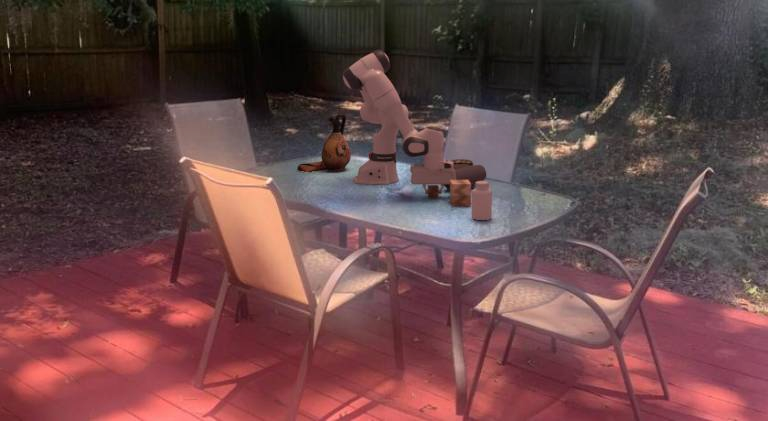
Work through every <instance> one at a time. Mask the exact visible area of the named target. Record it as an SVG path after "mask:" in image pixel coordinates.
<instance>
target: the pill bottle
mask: <svg viewBox="0 0 768 421" xmlns="http://www.w3.org/2000/svg"><path fill="white" fill-rule="evenodd" d="M489 184H490V182H488V181H487V180H483V181H477V182H476V183H475V184H474V185H475V188H474V189H472V190H471V219H472V218H473V219H472V220H474V219H476V220H475V221H477V220H487V221H490V220H491V219H492V211H493V209H492V208H493V205H492V203H493V191H492V190H491V189H490V185H489ZM489 219H490V220H489Z"/></svg>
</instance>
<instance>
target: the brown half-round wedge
mask: <svg viewBox="0 0 768 421" xmlns="http://www.w3.org/2000/svg"><path fill="white" fill-rule="evenodd" d="M449 161H451V162H453V164H454V167H453V168H454V170H455V169H459V168H463V167H467V166H472V165H474V161H473V160H471V159H464V158H459V159H457V158H456V159H451V160H449Z"/></svg>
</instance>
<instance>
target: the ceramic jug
mask: <svg viewBox="0 0 768 421" xmlns="http://www.w3.org/2000/svg"><path fill="white" fill-rule="evenodd" d="M340 118H341V122H340ZM346 122H347V117H346V115H345V114H344V113H337V114H336V115H335V117H328V118H327V119H326V122H325V123H326V125H328V126H331V127H333V129H332V131H331V133H330V134H329V136H328V137H327V139H326V141H325V142H324V144H323V147H322V150H321V161H323V163H324V165H325V166H326V167H327V169H326V170H327V172H333V173H334V172H335V173H340V172H344V171H345V169H346V167H347V166H348V164H350V161H351V159H352V158H351V157H352V156H351V150H350V146H349V144H348V141H347V139H346V138H345V137H344V130H345V125H346Z"/></svg>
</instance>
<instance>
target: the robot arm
mask: <svg viewBox="0 0 768 421" xmlns="http://www.w3.org/2000/svg"><path fill="white" fill-rule="evenodd" d="M390 67H391V63H390V59H389V56H388V55H387V54H386V53H385V52H384V51H383V50H381V49H377V50H374V51H371V53H369V54H367V55H365V56H364V57H361V58H359V60H357V61H355V62H354V63H353V64H352V65H351V66H349V67H346V68H345V69H344V71H343V72H342V79H343V82H344V84H345V86H346V87H348V88H349V89H350V90H351V91H356V92H357V91H360V94H361V96H362V98H363V101H364V102H363V103H362V105H360V109H359V114H360V115H359V116H360V118H361V120H363V121H364V122H367V123H371V124H377V125H381V128H380V131H379V132H376V133H375V134H374V135H373V138H372V151H369V152H368V153H367V155H368V160H367V161H366V162H365V163H363V164H362V165H361V166H360V167H359V168H358V172H357V175H356V176H354V177H353V182H354V184H363V185H388V184H392V183H396V182H399V180H400V178H399V176H398V170H397V163H398V162H397V160H398V159H397V156H398V155H397V152H396V145H397V144H396V143H397V142H396V141H397V135H398V132H400V133H401V135H402V138H403V144H402V150H403V152H404V154H405V155H407V156H409V157H412V158H415V157H417V158H418V157H423V163H413V164H411V165H410V167H409V169H410V170H409V172H410V173H411V175H410V184H412V185H422V188H423V190H424V194H425V195H428V188H426V187H427V185H440V188H439V195H441V194H442V193H443V192H442V191H443V190H444V188H445V186H444V184H450V180H456V173H455V170H454V168H453V167H454V164H453V162H451V161H450V160H448V159H445V157H444V148H445V139H444V132H443V131H442V129H440V128H439V127H435V126H426V127H425V128H424V129H422V130H418V129H417V128H416V127H415V126H414V125H413V123H412V121H411V120H410V119H409V110H408V107H407V106H406V105H405V104H402V101H401V98H400V96H399V93H398V91H397V89H396V88H395V86H394V85H393V83H392V82H391V80H390V79H389V78H388V76H387V75H386V74H385V73H387V72H388V71H389V69H390Z"/></svg>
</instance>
